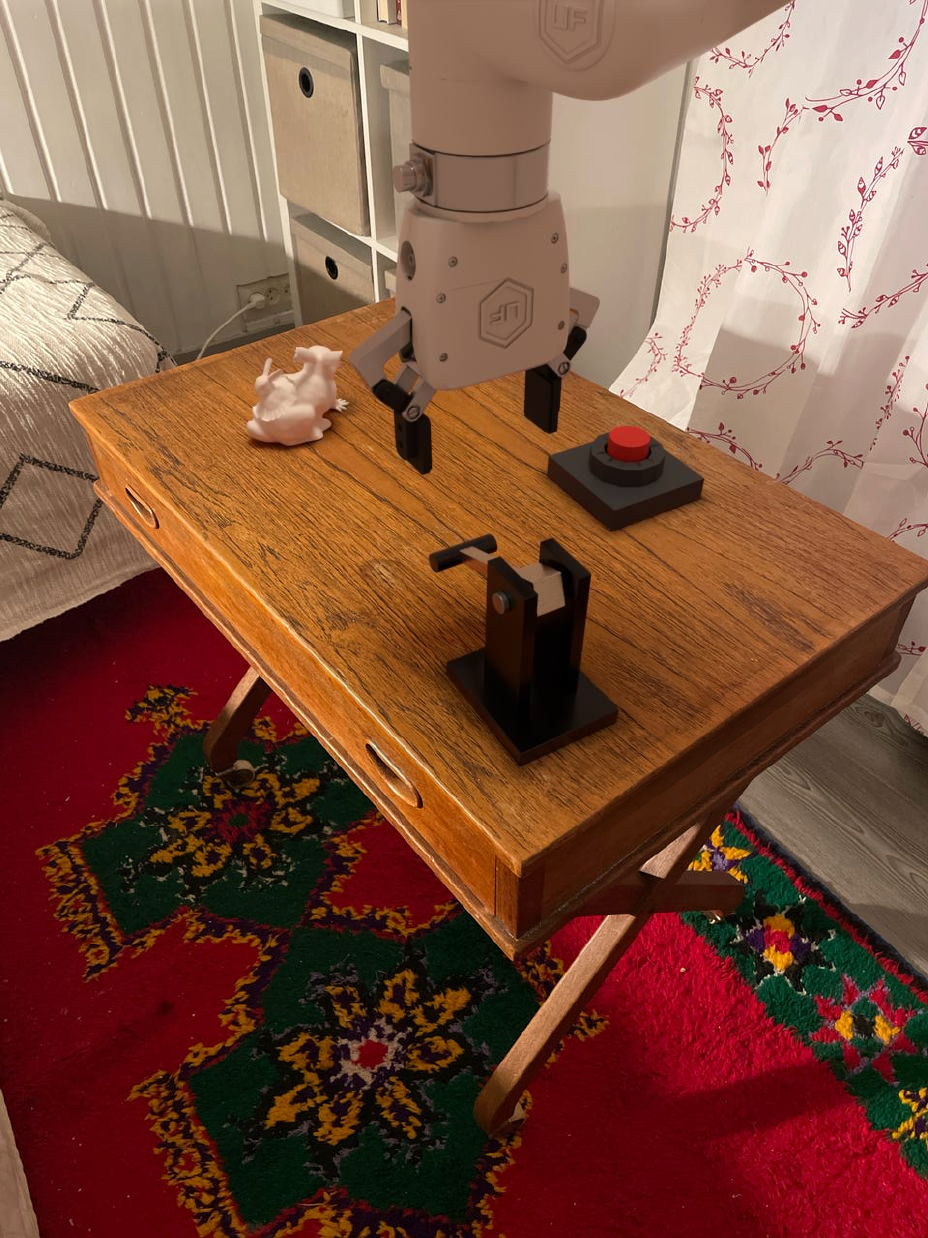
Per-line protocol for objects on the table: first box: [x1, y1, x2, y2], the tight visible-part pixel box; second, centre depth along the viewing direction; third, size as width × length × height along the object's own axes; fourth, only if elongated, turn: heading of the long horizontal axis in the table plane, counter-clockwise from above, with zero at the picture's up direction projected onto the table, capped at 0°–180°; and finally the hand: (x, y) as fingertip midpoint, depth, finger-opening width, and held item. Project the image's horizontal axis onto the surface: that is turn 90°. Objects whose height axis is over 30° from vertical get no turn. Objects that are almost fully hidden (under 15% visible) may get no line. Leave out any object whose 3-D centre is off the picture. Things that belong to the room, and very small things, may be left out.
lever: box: [428, 533, 565, 617], centre depth 66 cm, size 12×5×2 cm, turn 30°
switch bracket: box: [445, 537, 619, 766], centre depth 65 cm, size 10×8×12 cm
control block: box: [546, 431, 705, 532], centre depth 87 cm, size 10×10×4 cm
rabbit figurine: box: [246, 345, 350, 446], centre depth 92 cm, size 12×8×10 cm, turn 125°
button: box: [607, 425, 651, 462], centre depth 86 cm, size 4×4×2 cm
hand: (479, 443), depth 64 cm, fingers open, 9 cm apart
